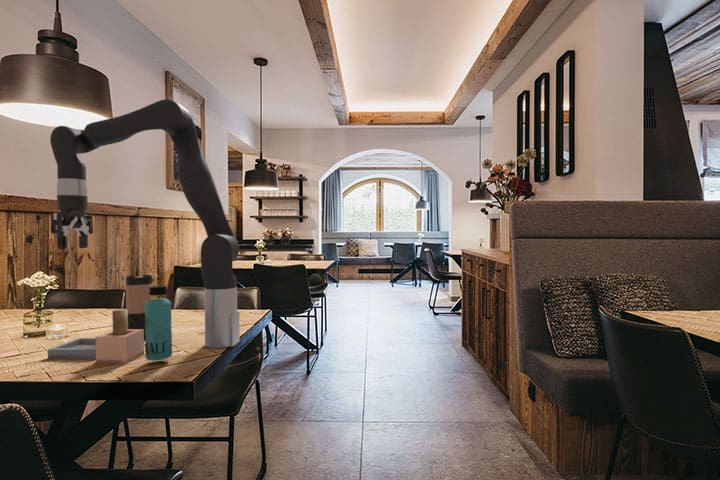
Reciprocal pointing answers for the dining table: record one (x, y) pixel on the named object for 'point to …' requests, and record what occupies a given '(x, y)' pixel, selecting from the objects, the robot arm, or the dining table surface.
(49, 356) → the slate tray
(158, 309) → the beverage bottle
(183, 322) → the dining table surface
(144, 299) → the travel mug
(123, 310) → the walnut dowel
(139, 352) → the pin cup
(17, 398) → the dining table surface
